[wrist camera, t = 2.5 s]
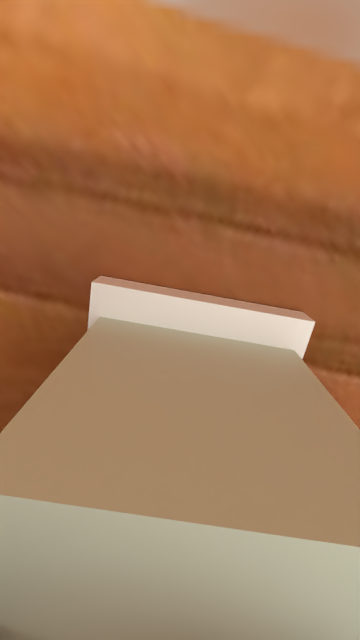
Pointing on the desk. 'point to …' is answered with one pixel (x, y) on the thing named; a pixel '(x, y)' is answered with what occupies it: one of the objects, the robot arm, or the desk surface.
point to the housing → (179, 495)
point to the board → (199, 313)
